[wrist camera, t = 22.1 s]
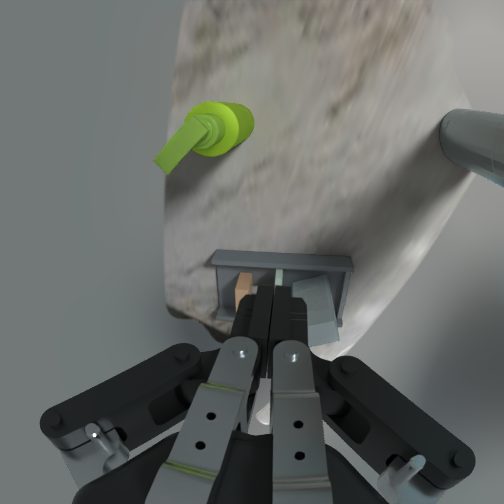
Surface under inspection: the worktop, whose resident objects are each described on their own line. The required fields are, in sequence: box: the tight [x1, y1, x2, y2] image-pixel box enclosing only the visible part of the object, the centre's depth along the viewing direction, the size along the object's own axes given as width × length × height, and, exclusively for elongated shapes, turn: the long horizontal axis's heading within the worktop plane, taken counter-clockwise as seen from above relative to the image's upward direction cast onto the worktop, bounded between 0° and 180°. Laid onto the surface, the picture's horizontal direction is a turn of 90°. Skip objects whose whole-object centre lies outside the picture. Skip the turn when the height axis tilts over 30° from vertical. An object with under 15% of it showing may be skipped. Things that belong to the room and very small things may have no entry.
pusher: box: [235, 268, 283, 312], centre depth 48 cm, size 7×10×5 cm
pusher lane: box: [211, 250, 354, 327], centre depth 49 cm, size 22×12×4 cm, turn 90°
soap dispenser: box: [154, 101, 254, 175], centre depth 31 cm, size 6×7×20 cm
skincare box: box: [293, 274, 339, 347], centre depth 45 cm, size 6×4×12 cm
